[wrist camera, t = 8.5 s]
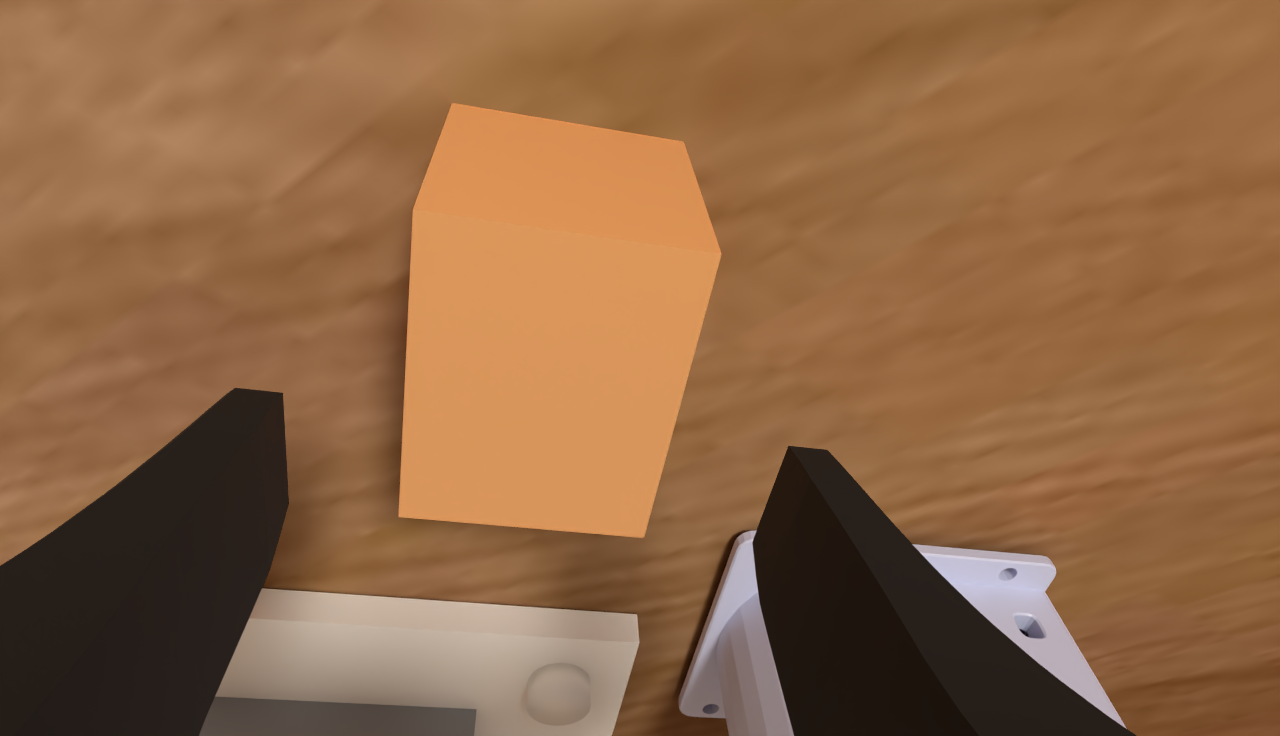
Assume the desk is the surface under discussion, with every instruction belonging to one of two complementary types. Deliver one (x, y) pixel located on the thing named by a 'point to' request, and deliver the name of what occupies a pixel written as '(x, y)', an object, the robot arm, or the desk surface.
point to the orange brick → (549, 322)
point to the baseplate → (422, 669)
